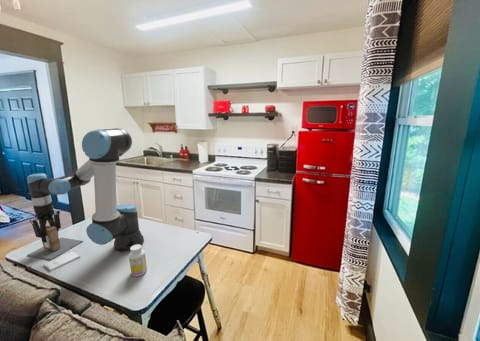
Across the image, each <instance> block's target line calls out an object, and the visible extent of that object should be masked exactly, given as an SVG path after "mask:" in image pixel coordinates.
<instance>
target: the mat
mask: <svg viewBox="0 0 480 341" xmlns="http://www.w3.org/2000/svg"><path fill="white" fill-rule="evenodd" d="M59 241H60V246H61V248H59V249H57V250H55V251H52V250H46V249H44V246H42V247H40V248H38V249H35V250H34V251H32V252H30V253H28V254H26V256H27V257H31V258H36V259H37V258H38V259H40V260H41V259H42V260H46V261H52V260H54V259H56V258H58V257H61V256H62V255H64V254H66V252H68V251H70V250H72V249H73V248H75V247H77V246H78V245H80V244H82V243H84V240H79V239H73V238H67V237H59Z"/></svg>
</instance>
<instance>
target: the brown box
mask: <svg viewBox="0 0 480 341" xmlns="http://www.w3.org/2000/svg"><path fill="white" fill-rule="evenodd" d="M46 236H48V239H49V243H50V247H49V248H47V247H45V245H44V243H43V242H42V247H44V249H46V250H52V251H55V250H57V249H59V248H61V246H60V241H59V238H60V237H59V231H58V232H57V228H56V227H52V226H50V225H46Z"/></svg>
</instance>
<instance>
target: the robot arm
mask: <svg viewBox="0 0 480 341" xmlns="http://www.w3.org/2000/svg"><path fill="white" fill-rule="evenodd" d="M132 145H133V139H132V136H131V134H130V133H129V132H128V131H126V130H125V129H123V128H107V129H95V130H91V131H89V132H87V133H86V134H84V136H83V137H82V141H81V148H82V151H83V153H84V155H85V156H86V157H87V158H89V159H88V160H87V161H86V162H85V163H84V164H82V165H81V166H80V167H78V169H76V171H74V172H73V173H71V174H66V175H63V176H58V177H56V178H48V175H47V174H46V173H43V172H42V173H39V172H38V173H32V174H30V175H27V177H26V180H27V186H28V191H29V195H30V197H31V201H32V206H33V211H34V214H35V216H34V218H33V219H30V220H29V223H30V224H31V226H32V227H33V228H32V229H33V231H34V232H33V233H34V235H35V237H36V238H40V239H41V242H42V244H43V243H44V245H45V247H47V248H49V247H50V243H49V239H48V236H46V226H47V222H48V224H49V226H52V227H56V228H57V232H58V233H59V230H60V229H61V228H62V226H61V225H62V224H61V217H60V215H61V214H60V213H61V211H60V210H54V204H53V200H52V195H54V196H55V195H56V196H57V195H58V196H60V195H65V194H68V193H69V191H70V190H73V189H76V188H79V187H82V186H86V185H87V184H89V183H90V182H91V179H92V178H93V183H94V204H95V206H94V207H95V208H94V209H95V212H94V213H93V214H92V216H91V223H90V224H89V225H88V226H87V227H86V231H85V232H86V235H87V238H88V239H90V240H91V241H92V243H94V244H97V245H99V246H104V245H107V244H108V243H110V242H112V241H113V240H114V241H113V248H114V250H115V251H116V252H120V253H123V252H124V253H125V252H131V251H130V248H131V247H132V246H133V245H137V244H139V245H141V246H143V244H144V243H145V240H144V238H145V237H144V235H142V232H141V230H140V226H139V217H138V210H137V206H136V205H135V204H131V203H124V204H123V203H121V204H118V205H117V175H116V174H117V172H116V170H117V169H116V166H117V163H118V162H119V161H120V157H122V156H124V154H126V153H127V152H128V151H129V150H130V149H131V148H132Z"/></svg>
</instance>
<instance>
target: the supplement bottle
mask: <svg viewBox="0 0 480 341" xmlns="http://www.w3.org/2000/svg"><path fill="white" fill-rule="evenodd" d="M142 246H143V245H139V244H137V245H133V246H132V247H131V248H130V251H129V252H130V253H129V254H128V261H129V267H130V273H131V275H132V276H134V277H139V276H142V275H145V273H146V272H147V270H148V268H147V267H148V266H147V259H146V252H145V250H144V249H143V248H142Z"/></svg>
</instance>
